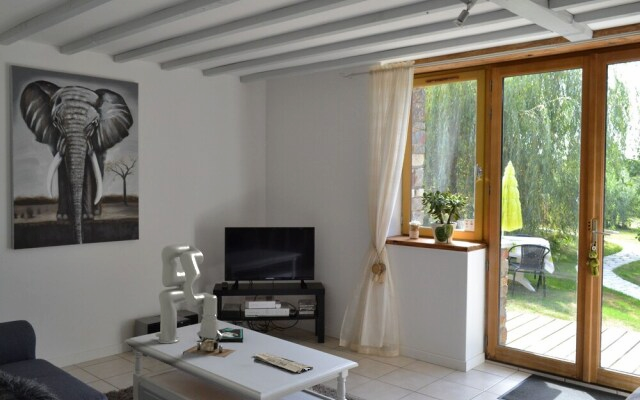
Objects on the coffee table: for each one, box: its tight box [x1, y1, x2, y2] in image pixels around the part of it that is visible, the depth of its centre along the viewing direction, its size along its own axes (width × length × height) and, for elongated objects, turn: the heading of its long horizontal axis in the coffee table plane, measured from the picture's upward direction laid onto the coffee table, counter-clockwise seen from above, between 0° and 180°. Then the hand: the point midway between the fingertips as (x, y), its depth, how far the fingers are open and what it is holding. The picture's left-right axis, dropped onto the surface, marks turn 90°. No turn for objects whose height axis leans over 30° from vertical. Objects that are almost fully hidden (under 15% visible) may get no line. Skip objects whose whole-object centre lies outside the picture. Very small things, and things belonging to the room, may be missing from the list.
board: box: [182, 342, 237, 358], centre depth 328 cm, size 26×14×5 cm, turn 71°
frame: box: [200, 339, 215, 351], centre depth 328 cm, size 7×7×4 cm
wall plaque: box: [205, 327, 244, 344], centre depth 357 cm, size 30×4×30 cm
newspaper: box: [254, 352, 314, 374], centre depth 311 cm, size 35×12×4 cm, turn 49°
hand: (209, 348), depth 328 cm, fingers closed on frame, 6 cm apart
